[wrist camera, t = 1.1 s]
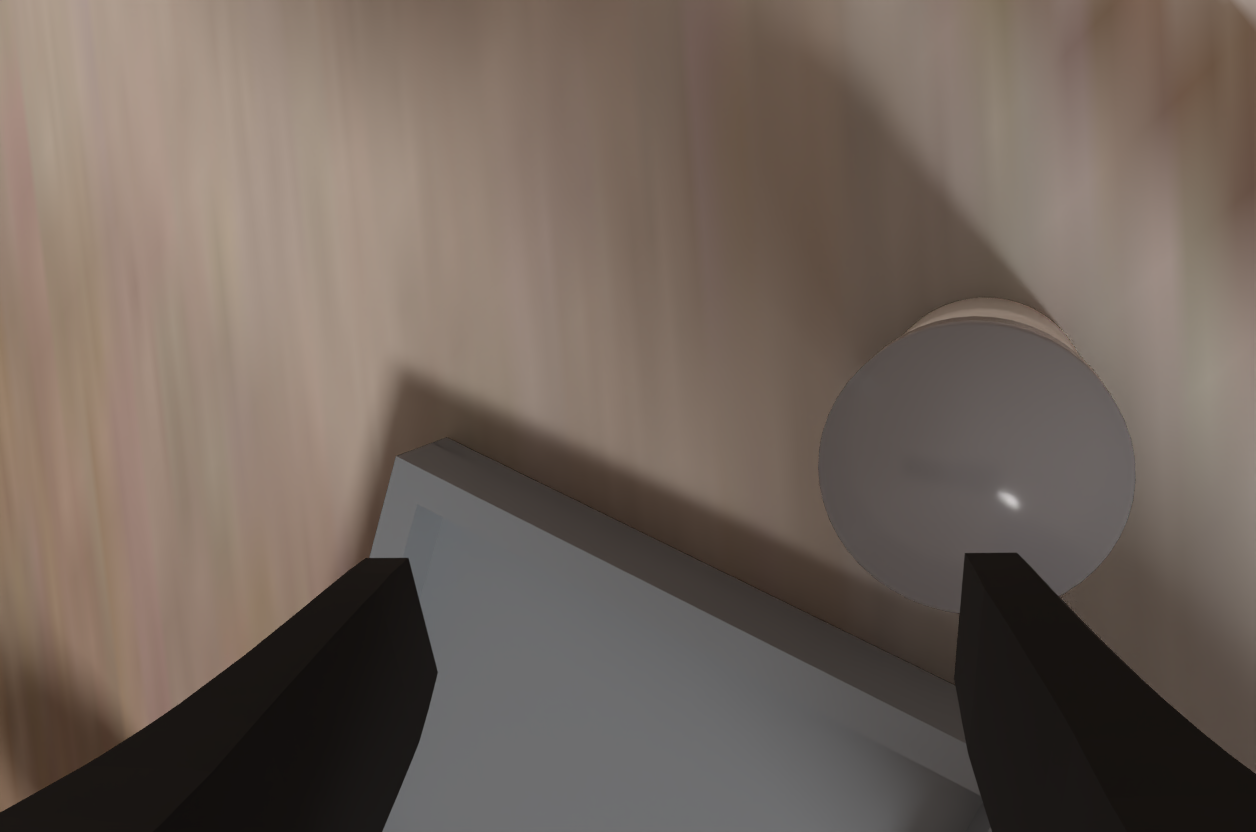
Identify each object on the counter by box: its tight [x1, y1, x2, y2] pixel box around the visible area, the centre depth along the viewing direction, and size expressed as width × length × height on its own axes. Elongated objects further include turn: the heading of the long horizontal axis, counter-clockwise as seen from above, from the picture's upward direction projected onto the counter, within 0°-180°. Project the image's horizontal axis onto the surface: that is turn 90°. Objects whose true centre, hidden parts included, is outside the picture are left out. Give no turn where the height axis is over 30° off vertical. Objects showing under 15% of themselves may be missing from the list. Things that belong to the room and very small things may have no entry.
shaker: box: [818, 297, 1136, 613], centre depth 18 cm, size 5×5×8 cm
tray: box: [369, 438, 992, 832], centre depth 26 cm, size 18×16×2 cm
